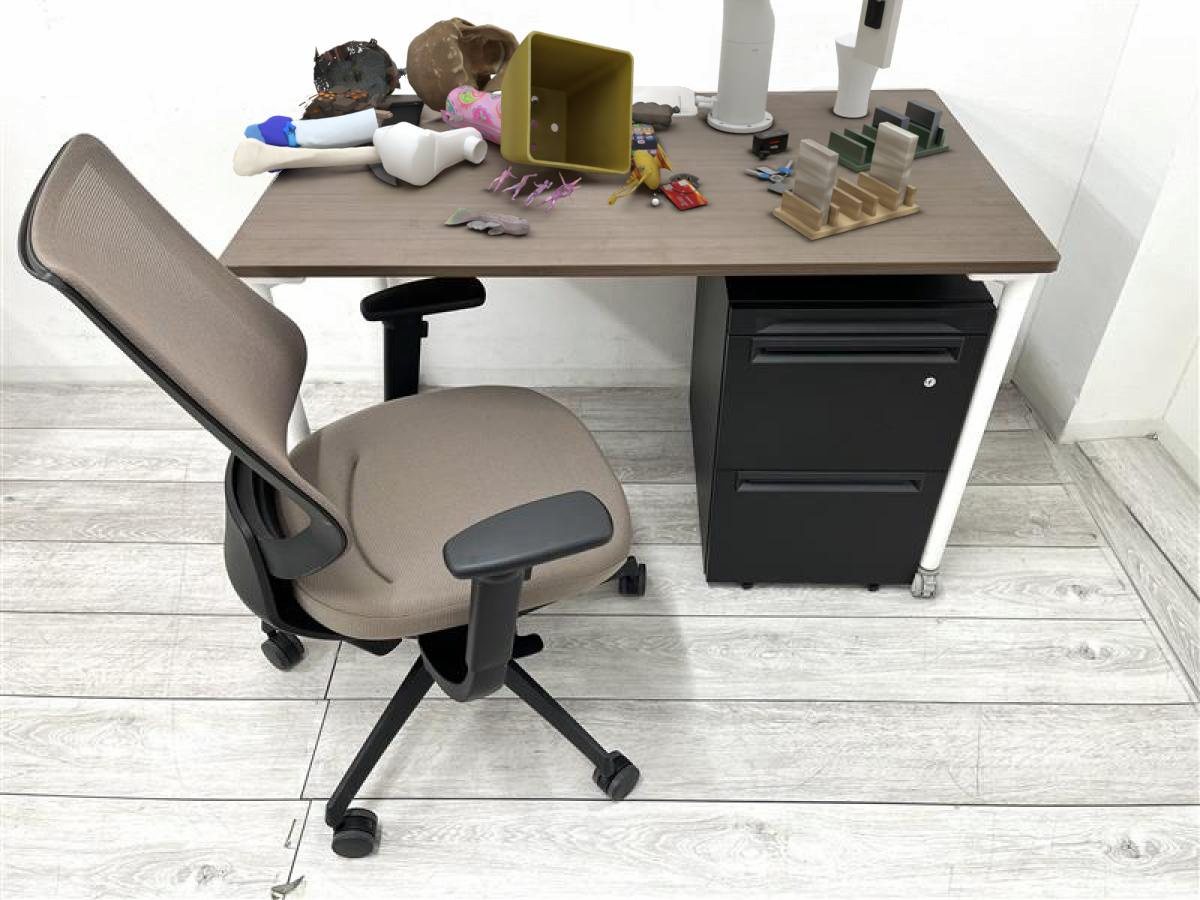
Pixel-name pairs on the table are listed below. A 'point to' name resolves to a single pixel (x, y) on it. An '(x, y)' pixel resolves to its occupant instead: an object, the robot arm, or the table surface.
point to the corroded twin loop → (689, 177)
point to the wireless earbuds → (770, 142)
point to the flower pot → (568, 105)
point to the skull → (458, 59)
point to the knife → (380, 169)
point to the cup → (852, 79)
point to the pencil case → (477, 113)
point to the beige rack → (850, 187)
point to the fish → (490, 221)
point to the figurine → (358, 70)
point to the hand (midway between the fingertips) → (877, 25)
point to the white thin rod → (656, 201)
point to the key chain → (778, 182)
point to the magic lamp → (644, 171)
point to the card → (683, 194)
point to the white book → (878, 36)
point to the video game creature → (339, 104)
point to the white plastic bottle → (425, 150)
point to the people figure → (539, 189)
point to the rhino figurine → (653, 113)
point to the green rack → (916, 120)
